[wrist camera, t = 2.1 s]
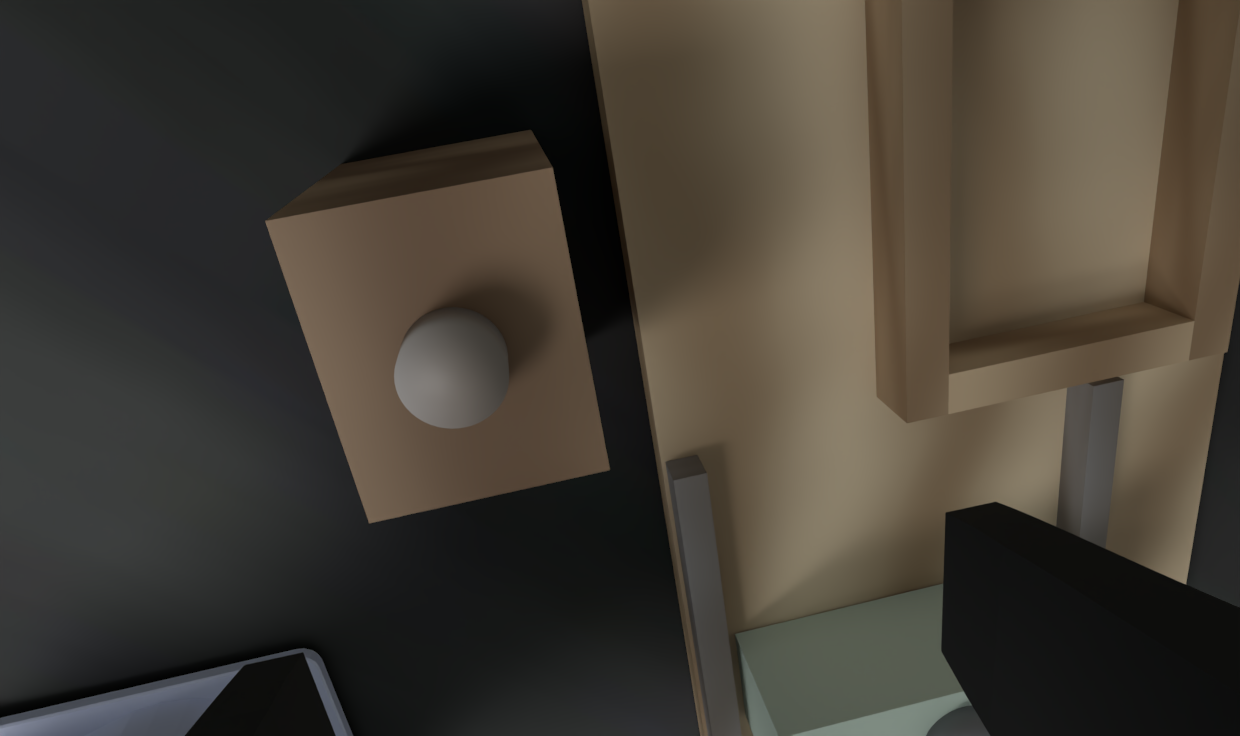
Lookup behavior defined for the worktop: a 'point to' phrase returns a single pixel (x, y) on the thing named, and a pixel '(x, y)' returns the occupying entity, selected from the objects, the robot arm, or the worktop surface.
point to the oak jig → (916, 283)
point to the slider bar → (856, 673)
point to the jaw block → (444, 323)
